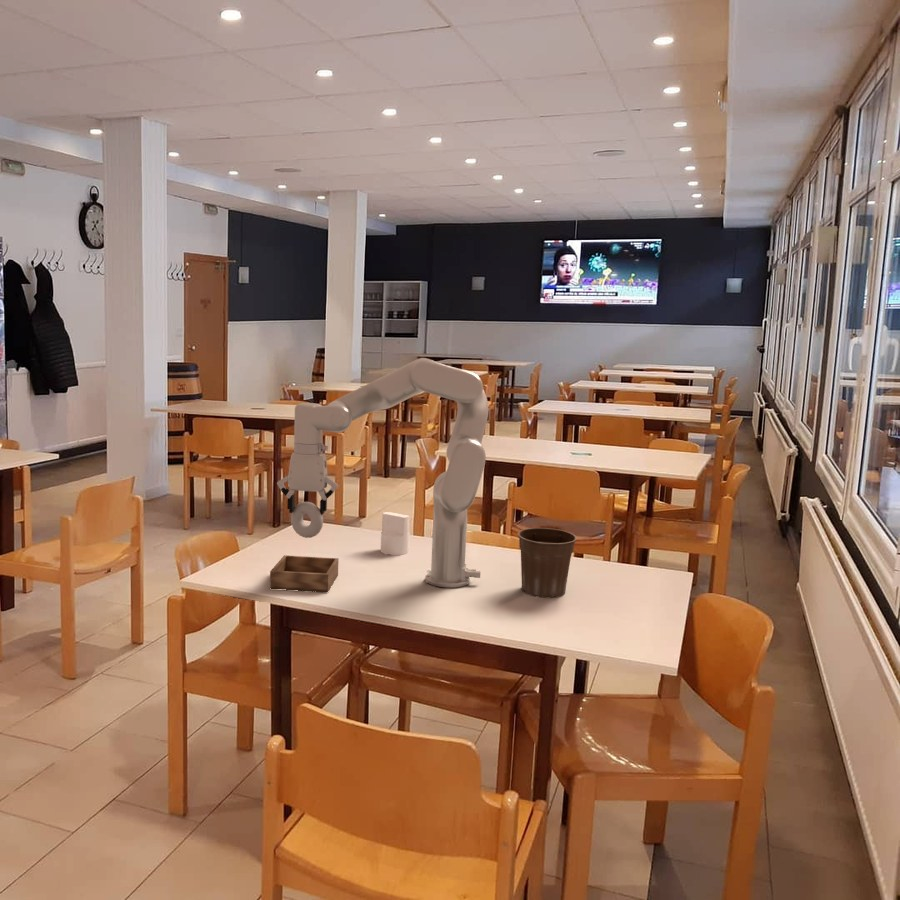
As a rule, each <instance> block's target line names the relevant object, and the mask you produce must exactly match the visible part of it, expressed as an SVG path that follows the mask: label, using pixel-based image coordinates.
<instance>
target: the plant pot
mask: <svg viewBox="0 0 900 900" xmlns="http://www.w3.org/2000/svg"><path fill="white" fill-rule="evenodd" d="M517 538H518V539H519V543H518V544H519V549H520V568H521V569H520V570H521V572H520V573H521V574H520V577H521V590H522V591H523V592H525V593H526V594H528V595H529V594H530V595H531V596H533V597H536V596H539V597H538V598H545V597H551V598H552V597H556V596H559V597H561V595H562V596H564V595H565V593H566V589H567V584H568V583H567V582H568V575H569V571H570V564H571V559H572V554H573V552H574V547H575V543H576V541H577V539H578V537H577V535H575V534H574V533H572V532H569V531H567V530H562V529H556V528H548V527H530V528H524V529H521V530H519V531H518V532H517Z"/></svg>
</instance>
